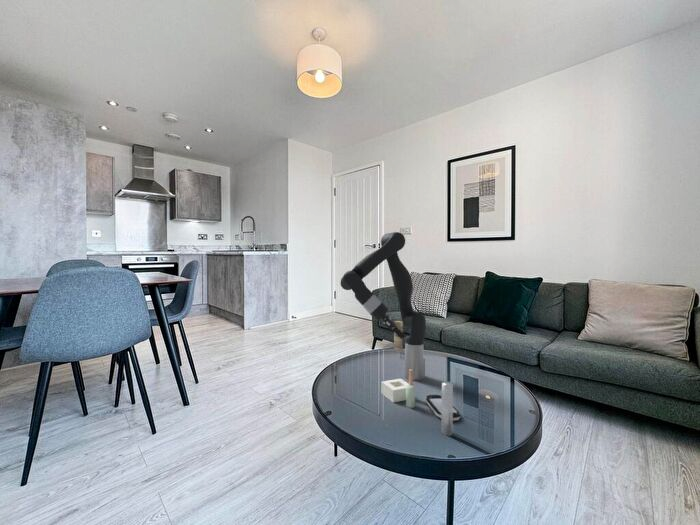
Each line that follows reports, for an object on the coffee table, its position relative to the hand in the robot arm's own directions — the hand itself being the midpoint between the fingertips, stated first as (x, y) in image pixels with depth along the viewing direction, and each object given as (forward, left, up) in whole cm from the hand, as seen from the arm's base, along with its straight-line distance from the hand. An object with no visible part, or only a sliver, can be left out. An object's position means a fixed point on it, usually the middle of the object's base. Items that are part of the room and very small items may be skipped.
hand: (403, 336), depth 126 cm
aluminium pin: (+2, +29, -26) cm, 39 cm away
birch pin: (+2, -1, -6) cm, 6 cm away
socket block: (+2, -2, -26) cm, 26 cm away
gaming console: (-8, +16, -27) cm, 32 cm away
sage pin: (+2, +8, -26) cm, 27 cm away
